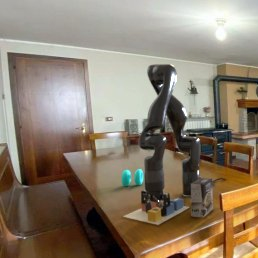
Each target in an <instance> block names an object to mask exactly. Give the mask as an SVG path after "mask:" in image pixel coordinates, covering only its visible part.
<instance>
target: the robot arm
mask: <svg viewBox="0 0 258 258" xmlns="http://www.w3.org/2000/svg"><path fill="white" fill-rule="evenodd" d="M146 74H147V78H148V81H149V82H150V84H151V87H152V88H153V90H154V92H155V93H156V98H155V99H153V101H152V103H151V104H150V106H149V108H148V110H147V111H148V112H147V119H146V123H145V125H144V127H143V128H142V131H141V133H140V135H139V137H138V146H139V148H140V149H141V150H143V151H153V154H150V155H147V156H145V157H144V159H143V161H144V162H143V163H144V173H143V179H144V189H143V190H141V191H140V204H141V203H142V204H143V203H144V205H145V206H146V213H147V214H148V211H149V210H151V209H152V208H151V204H150V203H151V202H156V203H157V204H158V205H159V206H160V207H161V216H162V217H164V216H165V215H166V214H167V207H169V206H170V200H171V195H170V192H167V193H165V192H164V190H165V171H164V155H165V151H166V147H167V138H166V136H165V135H164V134H161V133H155V132H156V131H159V130H163V129H164V128H165V124H166V118H167V121H168V122H169V125H170V127H171V131H172V133H173V136H174V140H175V143H176V146H177V149H178V151H179V152H180V153H182V154H189V157H188V158H184V159H182V160H181V183H182V184H181V185H182V196H183V197H187V198H188V197H190V198H191V183H193V182H195V181H196V180H198V179H200V178H202V176H201V175H200V173H201V172H200V162H201V140H200V138H199V137H198V136H186V134H185V126H186V124H187V120H188V113H187V112H186V109H185V106H184V104H183V103H182V102H181V101H180V100H179V99H178V98H177V97H176V96H175V95H174V94H173V92H174V89H175V86H176V83H177V79H178V77H177V76H178V73H177V69H176V67H175V66H174V65H173V64H168V63H156V64H150V65H148V66H147V69H146ZM220 180H222V181H226V179H225V178H224V177H219V178H216V179H214V180H212V187H213V186H214V183H215V182H217V181H220ZM161 199H162V201H161ZM160 201H161V202H160ZM162 203H163V204H164V205H162Z"/></svg>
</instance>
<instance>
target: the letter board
mask: <svg viewBox="0 0 258 258" xmlns="http://www.w3.org/2000/svg"><path fill="white" fill-rule="evenodd" d="M158 208H159V207H158ZM189 208H190V206H186V205H183V208H181V209H179V210H177V211H175V210H174V213H172V214H170V215H168V216H164V218H162V219H161V220H159V221H157V222H152V221H148V214H147V213H146V212H145V211H142V208H138V209H136V210H134V211H131V212H130V213H127V214H125V215H122V217H123V218H127V219H132V220H135V221H139V222H144V223H149V224H152V225H157V226H159V225H160V224H162V223H164V222H166V221H168V220H169V219H171V218H173V217H175V216H177V215H179V214H180V213H182V212H184V211H186V210H188V209H189Z"/></svg>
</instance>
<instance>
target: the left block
mask: <svg viewBox="0 0 258 258" xmlns="http://www.w3.org/2000/svg"><path fill="white" fill-rule="evenodd" d="M150 204H151V208H152V209H153V208H155V207H156V202H151V203H150ZM140 205H141V206H140V207H141V208H142V211H145V212H146V206H145V205H144V203H143V204H142V203H141V202H140ZM141 208H140V209H141Z"/></svg>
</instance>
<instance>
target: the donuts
mask: <svg viewBox="0 0 258 258" xmlns="http://www.w3.org/2000/svg"><path fill="white" fill-rule="evenodd" d="M133 178H134V184H135V185H137V186H141V185H142V184H143V182H144V172H143V170H142V169H141V168H138V169H136V170H135V172H134V177H133ZM131 182H132V172H131V171H130V170H129V169H124V170H123V172H122V173H121V184H122V186H123V187H129V186H130V184H131Z"/></svg>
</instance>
